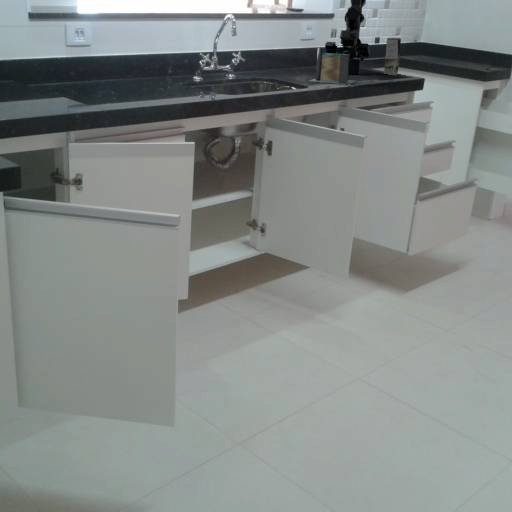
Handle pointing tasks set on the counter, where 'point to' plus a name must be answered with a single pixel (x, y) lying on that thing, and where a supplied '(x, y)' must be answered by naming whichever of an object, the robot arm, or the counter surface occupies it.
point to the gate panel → (331, 66)
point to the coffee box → (392, 56)
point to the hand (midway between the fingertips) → (343, 65)
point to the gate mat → (332, 81)
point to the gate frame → (342, 70)
